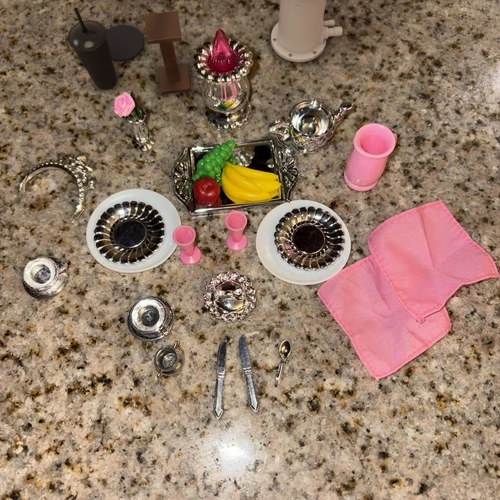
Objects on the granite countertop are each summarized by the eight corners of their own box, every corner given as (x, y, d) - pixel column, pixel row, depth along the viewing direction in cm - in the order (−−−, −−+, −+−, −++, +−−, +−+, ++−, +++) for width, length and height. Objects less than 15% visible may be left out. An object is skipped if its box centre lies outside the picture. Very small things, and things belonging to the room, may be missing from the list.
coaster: (142, 23, 114) (142, 22, 114) (145, 58, 111) (145, 57, 110) (99, 28, 114) (98, 27, 113) (101, 63, 110) (100, 62, 110)
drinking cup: (121, 95, 107) (94, 26, 88) (87, 95, 107) (51, 25, 89) (125, 67, 110) (99, -7, 91) (91, 66, 110) (58, -7, 91)
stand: (187, 67, 110) (177, 10, 95) (190, 91, 108) (180, 37, 93) (159, 70, 110) (144, 14, 94) (161, 94, 107) (146, 40, 92)
